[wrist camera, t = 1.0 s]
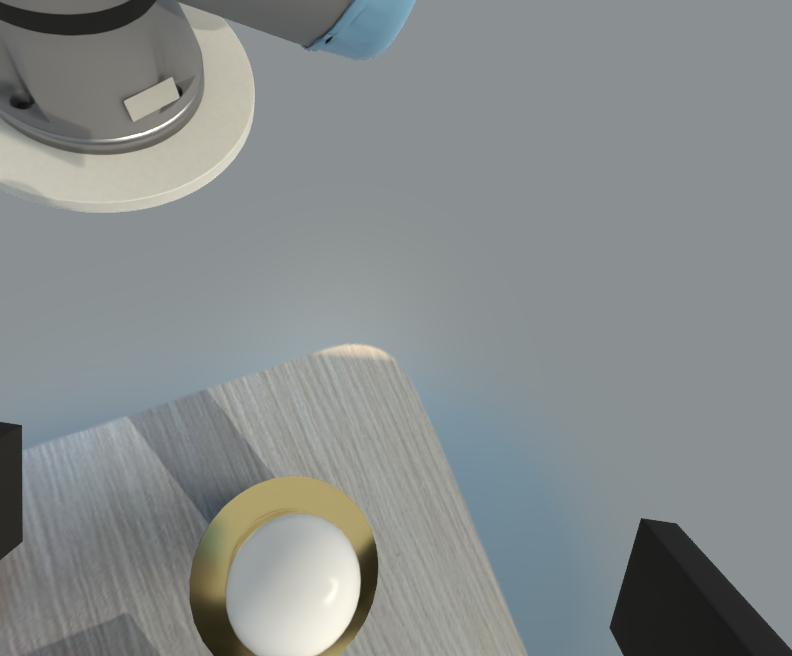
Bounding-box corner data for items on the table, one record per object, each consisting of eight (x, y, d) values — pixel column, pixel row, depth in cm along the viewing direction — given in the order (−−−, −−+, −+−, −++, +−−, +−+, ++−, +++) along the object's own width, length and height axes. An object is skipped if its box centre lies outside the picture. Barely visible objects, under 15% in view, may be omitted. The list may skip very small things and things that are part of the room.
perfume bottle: (203, 508, 29) (136, 537, 11) (294, 467, 32) (362, 436, 13) (237, 603, 28) (222, 806, 10) (328, 555, 31) (451, 650, 12)
